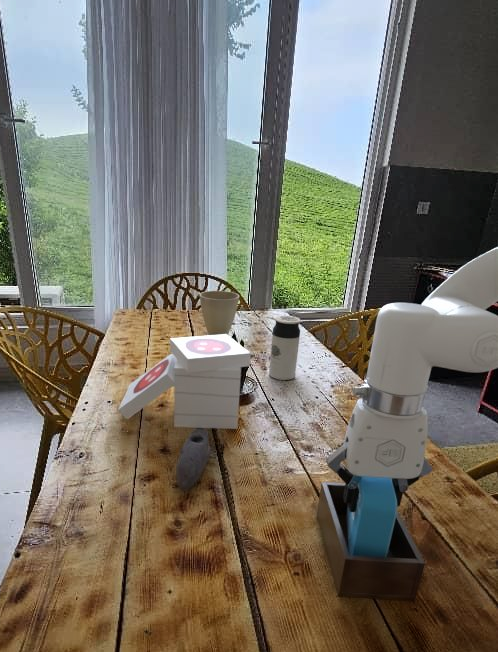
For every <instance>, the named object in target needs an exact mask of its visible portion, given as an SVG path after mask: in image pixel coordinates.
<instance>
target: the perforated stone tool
mask: <svg viewBox="0 0 498 652" xmlns="http://www.w3.org/2000/svg"><path fill="white" fill-rule="evenodd" d="M179 452H180V453H179V455H178V459H177V463H176V474H175V475H176V482H177V487H178V489H179V490H180V491H182V492H186V491H188V490H190V489H191V488H193V487H194V486H195V484H196V483H197V482H198V481H199V479H200V477H201V476H202V474H203V472H204V469H205V467H206V465H207V463H208V461H209V457H210V455H211V445H210V438H209V434H208V431H207V430H206V429H203V428H193V430H192V431H191V432H190V434H188V436H187V438H186V440H185V441H184V443H183V445H182V448H181V450H180V451H179Z"/></svg>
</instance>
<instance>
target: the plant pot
mask: <svg viewBox="0 0 498 652" xmlns="http://www.w3.org/2000/svg"><path fill="white" fill-rule="evenodd" d="M239 301H240V294H238V293H236V292H234V291H228V290H205V291H203V292H200V293H199V303H200V309H201V314H202V315H201V316H202V318H203V322H204V327H205V330H206V332H207V335H219V334H227V335H229V334H230V331H231V328H232V327H233V323H234V320H235V317H236V314H237V309H238V304H239Z"/></svg>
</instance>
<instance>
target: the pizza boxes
mask: <svg viewBox="0 0 498 652" xmlns="http://www.w3.org/2000/svg"><path fill="white" fill-rule="evenodd" d="M169 351H170V352H171V353H170V354H168V355H167V356H166V357H164V358H163V359H162V360H160V361H159V362H158V363H157V364H155V365H153V366H152V367H151V368H150V369H148V370H147V371H145V372H144V373H143V374H142V375H140V376H139V377H138V378H137V379H135V380H134V381H132V382H131V383H130V384H129V385H128V387H127V390H126V392H125V394H124V396H123V398H122V400H121V402H120V405H119V406H118V409H117V411H118V412H119V413H120V414H121V415H122V416H123V417H124V419H126V420H129V419H130V418H131V417H133V416H134V415H136V414H137V413H138V412H139V411H141V410H142V409H144V408H145V407H147V406H148V405H149V404H150V403H152V402H153V401H155V400H156V399H157V398H159V397H160V396H162V395H163V394H165V393H166V392H167V391H168V390H170V389H172V388H173V387H174V389H173V391H174V392H173V393H174V394H173V395H174V396H173V398H174V400H173V402H174V404H173V405H174V407H173V410H174V411H173V412H174V413H173V421H174V422H173V426H174V428H194V429H196V428H199V429H227V430H238V425H239V409H240V408H239V407H240V394H241V376H242V368H244V367H245V368H246V367H250V366H251V354H252V353H251V351H249V350H247V348H245V347H244V346H242V345H241V343H239V342H238V341H236V340H235V339H234V338H233V337H231V335H229V334H228V335H227V334H219V335H208V334H207V335H194V336H181V337H170V338H169Z"/></svg>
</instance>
